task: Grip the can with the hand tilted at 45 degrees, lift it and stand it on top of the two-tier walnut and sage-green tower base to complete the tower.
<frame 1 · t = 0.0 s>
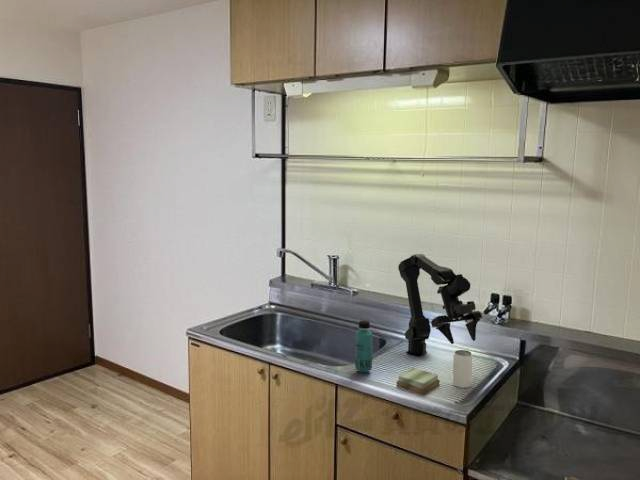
hand: (463, 342, 188), 15 cm above the counter, tool tilted 35°, fingers open, 9 cm apart
can: (461, 385, 188), on the counter
beverage bottle: (363, 372, 199), on the counter
tower base: (418, 385, 187), on the counter
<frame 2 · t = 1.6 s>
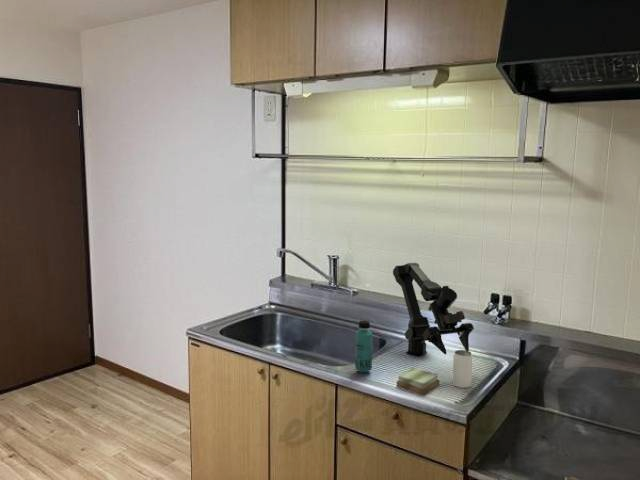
hand: (456, 352, 190), 11 cm above the counter, tool tilted 45°, fingers open, 9 cm apart
nothing on the counter moved.
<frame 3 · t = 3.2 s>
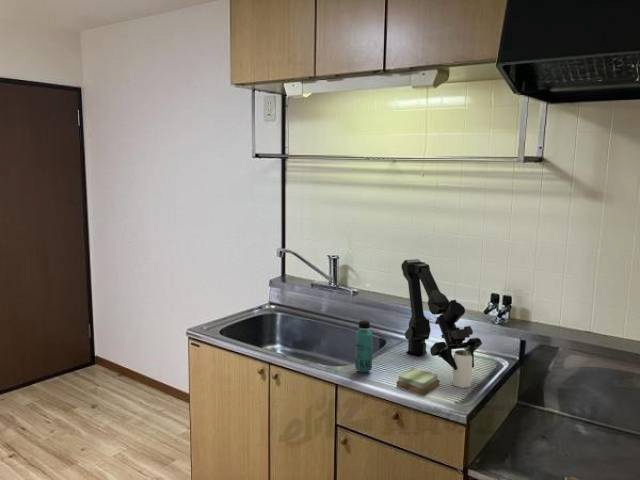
hand: (464, 368, 186), 7 cm above the counter, tool tilted 45°, fingers closed on can, 6 cm apart
can: (461, 385, 188), on the counter, touching gripper
everything else where it was.
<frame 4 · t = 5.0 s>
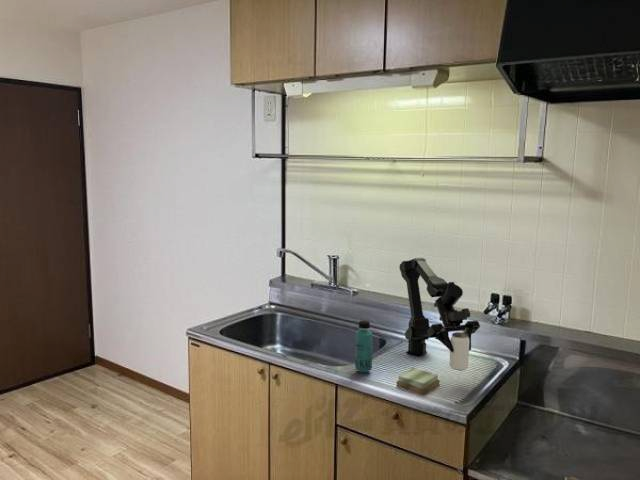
hand: (461, 350, 184), 13 cm above the counter, tool tilted 45°, fingers closed on can, 6 cm apart
can: (458, 367, 187), point 6 cm above the counter, touching gripper
everything else where it was.
when the fingers open (12 cm above the counter, at t = 6.8 s): can drops 1 cm, resting on tower base.
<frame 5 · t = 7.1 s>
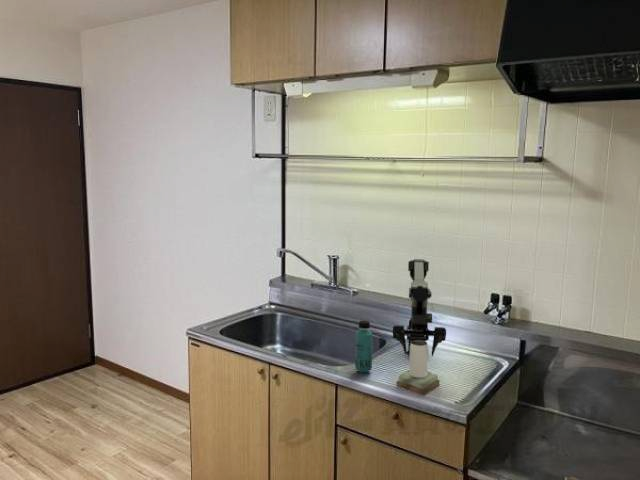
hand: (418, 354, 184), 12 cm above the counter, tool tilted 45°, fingers open, 9 cm apart
can: (418, 375, 186), point 4 cm above the counter, touching tower base
everything else where it was.
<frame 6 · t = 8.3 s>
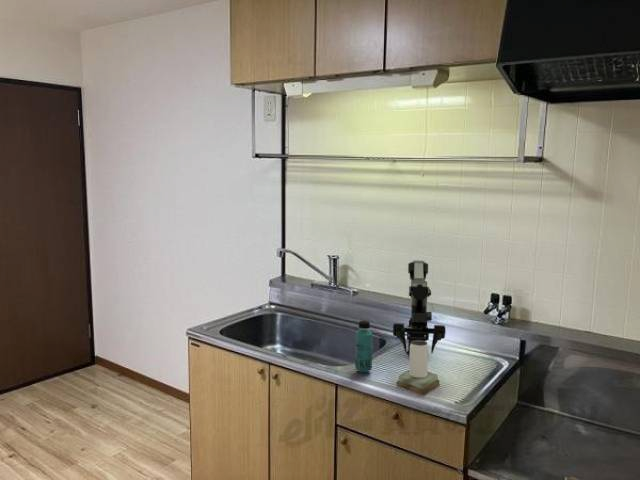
hand: (418, 352, 187), 12 cm above the counter, tool tilted 45°, fingers open, 9 cm apart
nothing on the counter moved.
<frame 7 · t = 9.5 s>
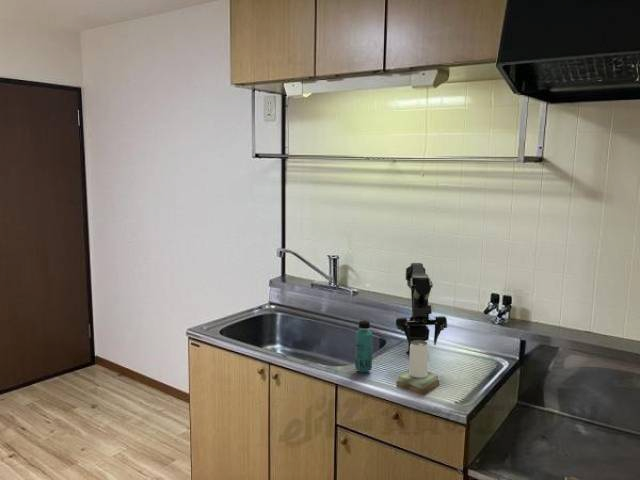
hand: (422, 344, 194), 12 cm above the counter, tool tilted 35°, fingers open, 9 cm apart
nothing on the counter moved.
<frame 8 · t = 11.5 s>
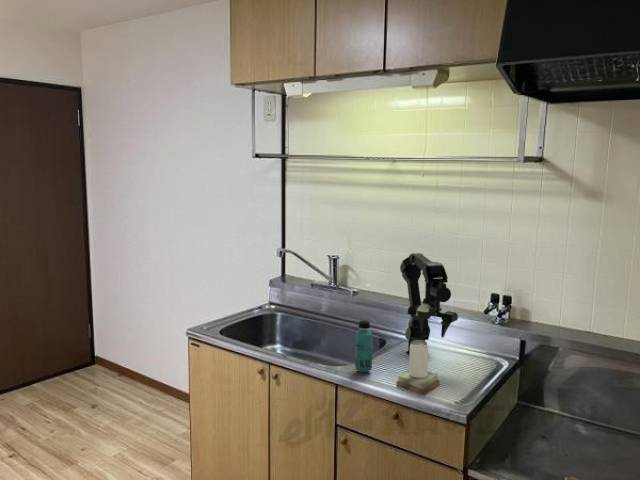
hand: (431, 335, 202), 13 cm above the counter, tool pointing down, fingers open, 9 cm apart
nothing on the counter moved.
at the end: can 0.1 cm off-centre on the tower base, point 3.8 cm above the tower base's base; can tilted 0°; the gripper is holding nothing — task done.
